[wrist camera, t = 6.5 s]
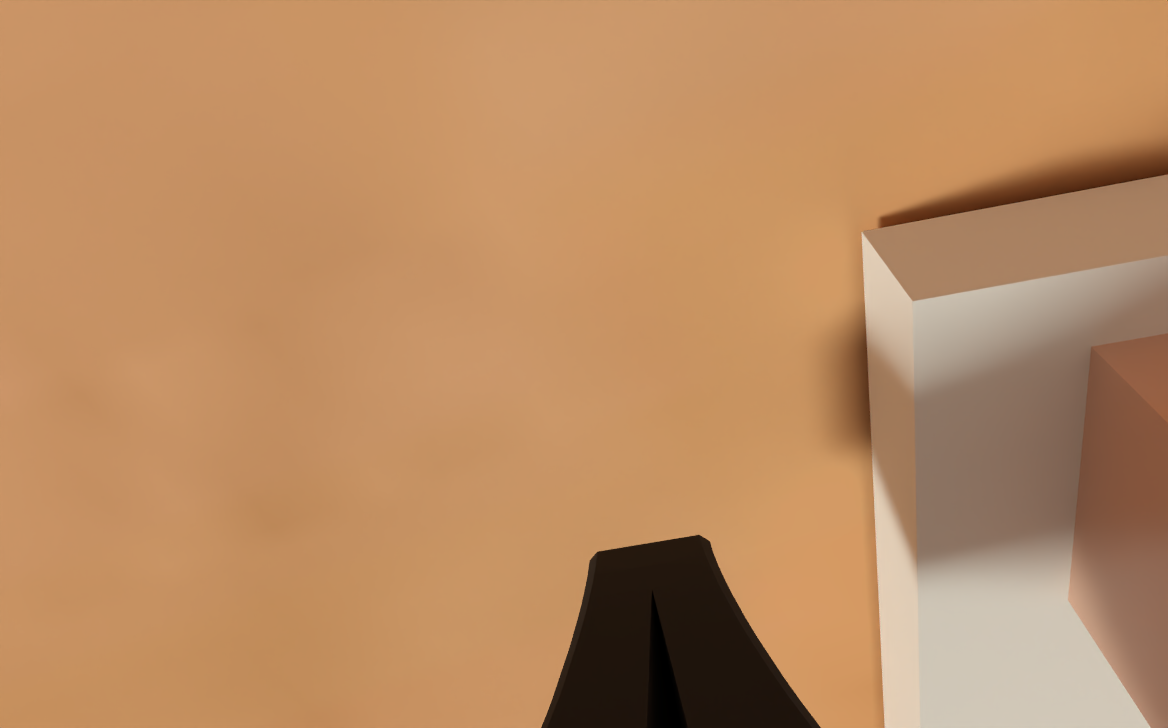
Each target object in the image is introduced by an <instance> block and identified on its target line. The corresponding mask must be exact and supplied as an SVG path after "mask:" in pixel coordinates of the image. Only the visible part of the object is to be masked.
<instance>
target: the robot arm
mask: <svg viewBox="0 0 1168 728" xmlns="http://www.w3.org/2000/svg"><path fill="white" fill-rule="evenodd" d="M541 728H821V727H820V726H819V725H818V724H817V722H816V721H815V720H814V718H813V717H812V716H811V714H810V713H809V712H808V710H807V709H806V708H805V706H804V705H803V704H802V702H801V701H800V700H799V698H798V697H797V695H796V694H795V693H794V691H793V690H792V688H791V687H790V686H789V684H788V683H787V681H786V680H785V679H784V677H783V676H782V674H781V673H780V671H779V670H778V668H777V667H776V665H775V664H774V662H773V660H772V659H771V657H770V656H769V654H768V653H767V651H766V650H765V648H764V647H763V645H762V644H761V642H760V641H759V639H758V638H757V636H756V635H755V633H754V631H753V630H752V628H751V626H750V625H749V623H748V621H747V620H746V618H745V616H744V615H743V613H742V611H741V609H740V607H739V606H738V604H737V602H736V600H735V598H734V597H733V595H732V593H731V591H730V589H729V587H728V585H727V583H726V581H725V579H724V577H723V575H722V573H721V571H720V568H719V566H718V564H717V561H716V559H715V556H714V554H713V551H712V548H711V544H710V541H708V540H707V539H705V538H703V537H702V536H700V535H696V536H690V537H684V538H678V539H672V540H666V541H660V542H654V543H648V544H641V545H635V546H629V547H623V548H617V549H611V550H605V551H599V552H597V553H596V554H595V555H594V556H593V558H592V559H591V560H590V563H589V570H588V577H587V582H586V587H585V592H584V596H583V601H582V605H581V609H580V613H579V617H578V620H577V624H576V627H575V631H574V634H573V638H572V641H571V645H570V648H569V651H568V654H567V657H566V660H565V663H564V666H563V669H562V672H561V675H560V678H559V681H558V684H557V687H556V690H555V693H554V696H553V699H552V702H551V704H550V707H549V710H548V712H547V715H546V717H545V720H544V722H543V725H542V727H541Z"/></svg>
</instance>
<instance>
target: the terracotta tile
mask: <svg viewBox="0 0 1168 728" xmlns="http://www.w3.org/2000/svg"><path fill="white" fill-rule="evenodd" d="M1068 601H1069V603H1070V604H1071V606H1072V607H1073V609H1074V610H1075V612H1076V613H1077V615H1078V617H1079V618H1080V620H1081V621H1082V623H1083V624H1084V626H1085V627H1086V629H1087V630H1088V632H1089V633H1090V635H1091V637H1092V638H1093V640H1094V641H1095V643H1096V644H1097V646H1098V647H1099V649H1100V650H1101V652H1102V653H1103V655H1104V657H1105V658H1106V660H1107V661H1108V663H1109V664H1110V666H1111V667H1112V669H1113V670H1114V672H1115V673H1116V675H1117V677H1118V678H1119V680H1120V681H1121V683H1122V684H1123V686H1124V687H1125V689H1126V690H1127V692H1128V693H1129V695H1130V697H1131V698H1132V700H1133V701H1134V703H1135V704H1136V706H1137V707H1138V709H1139V710H1140V712H1141V713H1142V715H1143V717H1144V718H1145V720H1146V721H1147V723H1148V724H1149V726H1150V727H1151V728H1168V333H1167V334H1161V335H1155V336H1150V337H1144V338H1138V339H1132V340H1127V341H1121V342H1115V343H1109V344H1104V345H1098V346H1092V347H1091V355H1090V366H1089V376H1088V387H1087V398H1086V409H1085V420H1084V431H1083V441H1082V452H1081V463H1080V474H1079V485H1078V496H1077V506H1076V517H1075V528H1074V539H1073V550H1072V561H1071V572H1070V582H1069V593H1068Z"/></svg>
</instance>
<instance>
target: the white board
mask: <svg viewBox="0 0 1168 728" xmlns="http://www.w3.org/2000/svg"><path fill="white" fill-rule="evenodd" d="M862 250H863V271H864V293H865V314H866V336H867V357H868V379H869V400H870V421H871V443H872V464H873V486H874V507H875V529H876V550H877V572H878V593H879V614H880V636H881V657H882V679H883V700H884V722H885V728H1151V727H1150V726H1149V724H1148V723H1147V721H1146V720H1145V718H1144V717H1143V715H1142V713H1141V712H1140V710H1139V709H1138V707H1137V706H1136V704H1135V703H1134V701H1133V700H1132V698H1131V697H1130V695H1129V693H1128V692H1127V690H1126V689H1125V687H1124V686H1123V684H1122V683H1121V681H1120V680H1119V678H1118V677H1117V675H1116V673H1115V672H1114V670H1113V669H1112V667H1111V666H1110V664H1109V663H1108V661H1107V660H1106V658H1105V657H1104V655H1103V653H1102V652H1101V650H1100V649H1099V647H1098V646H1097V644H1096V643H1095V641H1094V640H1093V638H1092V637H1091V635H1090V633H1089V632H1088V630H1087V629H1086V627H1085V626H1084V624H1083V623H1082V621H1081V620H1080V618H1079V617H1078V615H1077V613H1076V612H1075V610H1074V609H1073V607H1072V606H1071V604H1070V603H1069V601H1068V593H1069V582H1070V572H1071V561H1072V550H1073V539H1074V528H1075V517H1076V506H1077V496H1078V485H1079V474H1080V463H1081V452H1082V441H1083V431H1084V420H1085V409H1086V398H1087V387H1088V376H1089V366H1090V355H1091V347H1092V346H1098V345H1104V344H1109V343H1115V342H1121V341H1127V340H1132V339H1138V338H1144V337H1150V336H1155V335H1161V334H1167V333H1168V175H1162V176H1157V177H1152V178H1146V179H1141V180H1135V181H1130V182H1125V183H1119V184H1114V185H1109V186H1103V187H1098V188H1093V189H1087V190H1082V191H1076V192H1071V193H1066V194H1060V195H1055V196H1050V197H1044V198H1039V199H1034V200H1028V201H1023V202H1017V203H1012V204H1007V205H1001V206H996V207H991V208H985V209H980V210H975V211H969V212H964V213H958V214H953V215H948V216H942V217H937V218H932V219H926V220H921V221H916V222H910V223H905V224H899V225H894V226H889V227H883V228H878V229H873V230H867V231H862Z"/></svg>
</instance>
